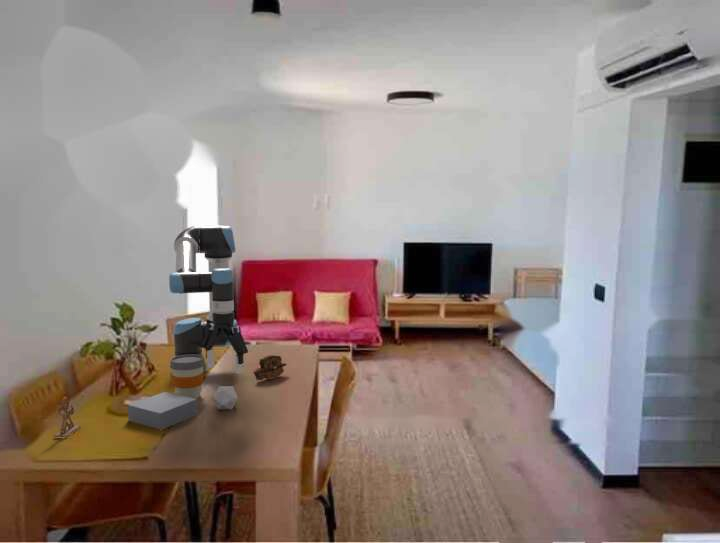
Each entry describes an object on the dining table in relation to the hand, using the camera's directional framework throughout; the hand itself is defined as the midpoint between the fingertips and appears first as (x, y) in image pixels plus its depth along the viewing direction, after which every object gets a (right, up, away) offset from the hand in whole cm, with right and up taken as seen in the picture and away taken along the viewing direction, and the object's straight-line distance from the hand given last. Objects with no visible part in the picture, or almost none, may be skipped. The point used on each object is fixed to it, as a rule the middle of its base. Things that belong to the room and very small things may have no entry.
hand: (224, 370), depth 206 cm
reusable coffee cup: (-17, -13, +14) cm, 26 cm away
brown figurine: (-46, -17, -21) cm, 53 cm away
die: (0, -14, +2) cm, 15 cm away
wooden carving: (+11, -10, +37) cm, 40 cm away
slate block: (-20, -16, -8) cm, 26 cm away
